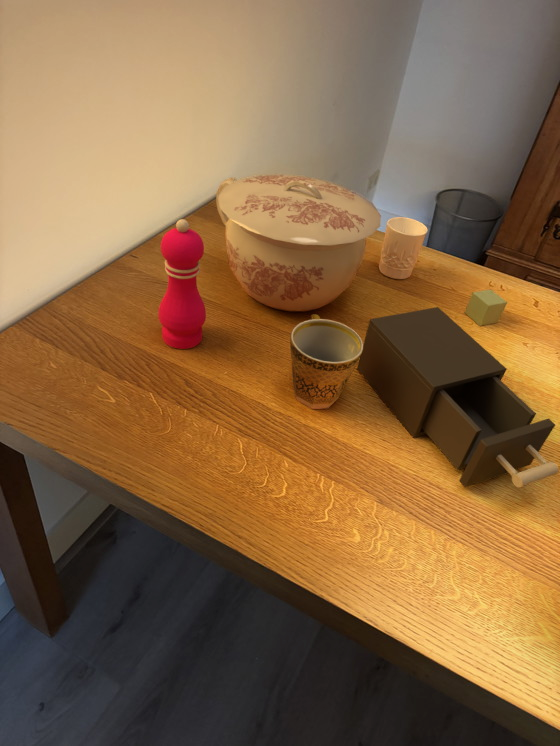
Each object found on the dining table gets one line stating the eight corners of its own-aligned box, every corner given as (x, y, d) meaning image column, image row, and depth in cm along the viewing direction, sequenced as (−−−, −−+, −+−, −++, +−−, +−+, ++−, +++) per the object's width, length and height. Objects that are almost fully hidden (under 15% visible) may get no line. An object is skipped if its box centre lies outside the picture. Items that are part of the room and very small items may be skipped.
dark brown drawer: (555, 491, 70) (584, 451, 65) (489, 517, 66) (514, 476, 61) (461, 394, 83) (479, 354, 78) (400, 411, 78) (415, 369, 73)
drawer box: (482, 418, 80) (507, 368, 74) (413, 438, 76) (433, 387, 69) (420, 354, 91) (437, 306, 85) (356, 368, 86) (370, 318, 80)
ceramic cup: (356, 416, 78) (372, 362, 71) (288, 419, 76) (298, 363, 69) (334, 359, 87) (347, 306, 81) (273, 360, 85) (281, 306, 79)
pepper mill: (192, 356, 84) (194, 237, 71) (150, 342, 85) (145, 223, 72) (212, 332, 89) (218, 216, 76) (173, 319, 90) (171, 204, 77)
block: (482, 309, 105) (490, 289, 102) (498, 322, 102) (507, 302, 99) (464, 312, 103) (472, 292, 100) (479, 326, 100) (488, 305, 97)
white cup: (410, 285, 108) (425, 239, 102) (372, 274, 110) (384, 228, 103) (415, 267, 114) (429, 223, 108) (379, 258, 116) (391, 213, 109)
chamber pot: (383, 329, 95) (415, 218, 82) (228, 338, 88) (236, 218, 75) (333, 251, 115) (352, 152, 102) (203, 253, 108) (206, 147, 95)
